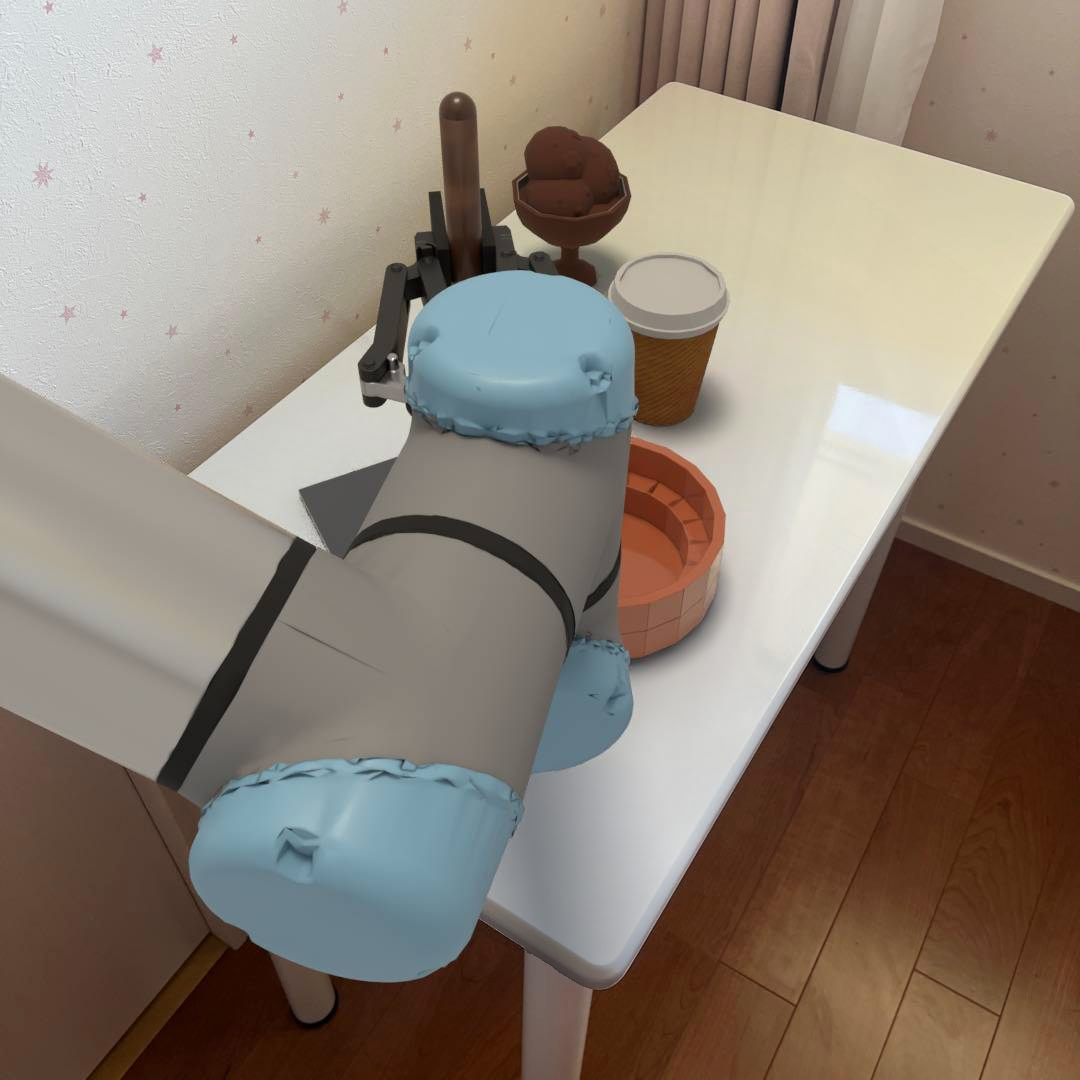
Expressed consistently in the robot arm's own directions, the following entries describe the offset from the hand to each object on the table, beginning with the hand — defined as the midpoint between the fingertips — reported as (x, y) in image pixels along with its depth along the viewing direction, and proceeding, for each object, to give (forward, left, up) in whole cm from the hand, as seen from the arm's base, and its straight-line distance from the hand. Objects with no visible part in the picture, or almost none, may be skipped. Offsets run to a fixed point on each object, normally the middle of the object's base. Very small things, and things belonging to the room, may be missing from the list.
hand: (457, 210), depth 69 cm
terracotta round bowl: (+4, -12, -25) cm, 28 cm away
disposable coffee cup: (+18, +3, -25) cm, 31 cm away
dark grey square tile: (-8, +1, -25) cm, 26 cm away
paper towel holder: (-2, -5, -13) cm, 14 cm away
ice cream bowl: (+20, +23, -25) cm, 40 cm away
